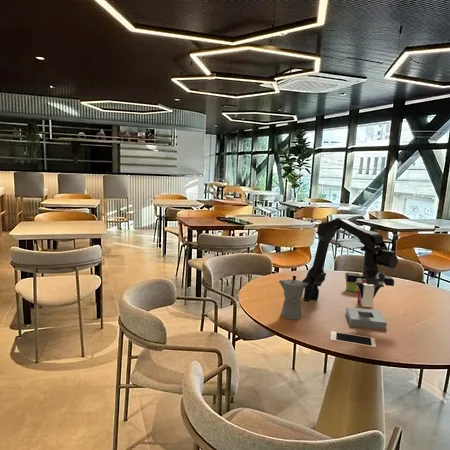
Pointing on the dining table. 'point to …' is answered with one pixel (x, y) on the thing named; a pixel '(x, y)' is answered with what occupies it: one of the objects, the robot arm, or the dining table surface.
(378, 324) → the socket
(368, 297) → the peg
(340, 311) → the dining table surface
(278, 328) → the dining table surface
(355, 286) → the plant pot
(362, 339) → the cell phone
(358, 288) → the soda can
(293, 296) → the coffeepot
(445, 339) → the dining table surface
